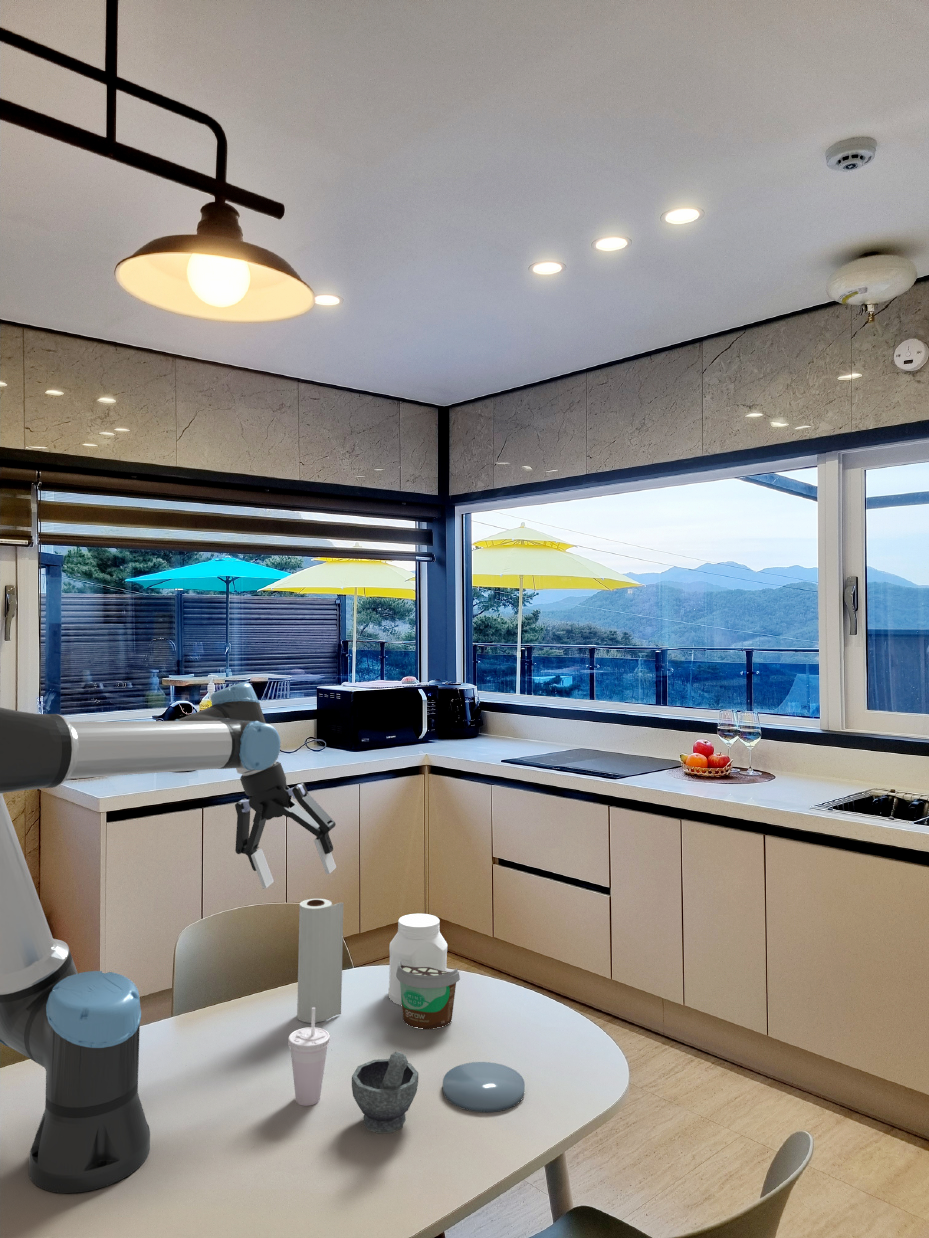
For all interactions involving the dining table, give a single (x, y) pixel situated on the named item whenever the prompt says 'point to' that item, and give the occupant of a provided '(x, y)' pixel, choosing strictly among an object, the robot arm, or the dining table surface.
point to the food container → (427, 995)
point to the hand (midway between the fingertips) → (299, 878)
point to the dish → (483, 1087)
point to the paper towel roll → (320, 959)
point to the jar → (416, 948)
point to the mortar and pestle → (385, 1091)
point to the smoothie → (308, 1061)
